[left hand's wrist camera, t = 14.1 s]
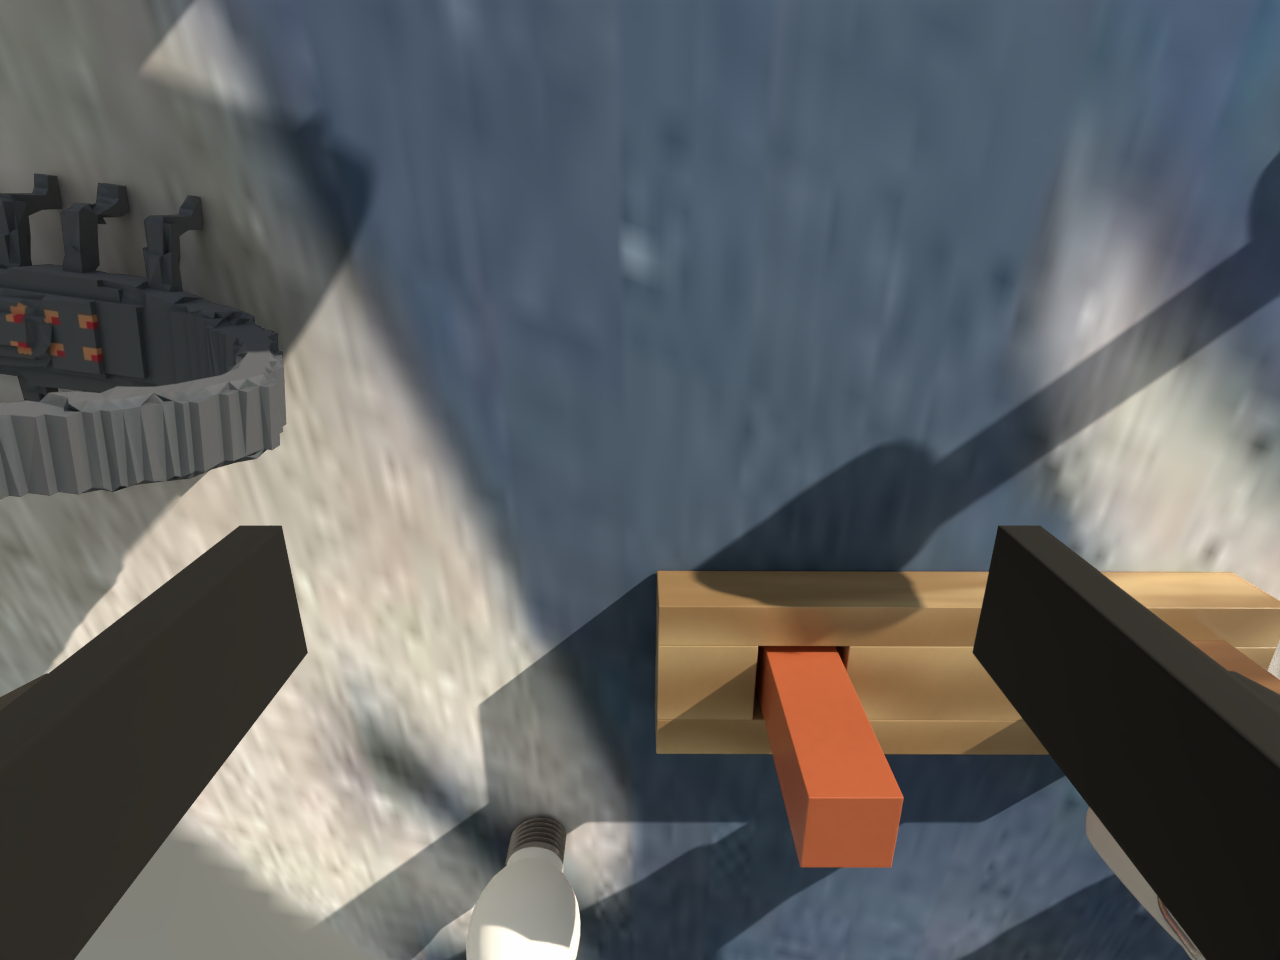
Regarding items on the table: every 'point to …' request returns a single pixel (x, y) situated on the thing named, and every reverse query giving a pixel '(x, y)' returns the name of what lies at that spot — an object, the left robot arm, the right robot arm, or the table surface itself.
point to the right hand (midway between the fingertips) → (1219, 722)
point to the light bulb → (527, 901)
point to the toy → (123, 359)
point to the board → (897, 650)
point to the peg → (827, 759)
